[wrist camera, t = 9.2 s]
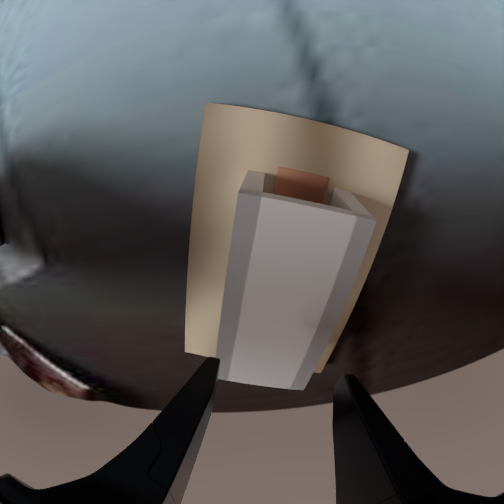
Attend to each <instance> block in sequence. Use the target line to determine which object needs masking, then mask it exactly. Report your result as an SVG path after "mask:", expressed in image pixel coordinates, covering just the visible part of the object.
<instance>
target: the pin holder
mask: <svg viewBox="0 0 504 504" xmlns="http://www.w3.org/2000/svg"><path fill="white" fill-rule="evenodd" d="M408 153H409V150H408V149H405V148H402V147H400V146H397V145H394V144H391V143H388V142H385V141H383V140H380V139H377V138H374V137H370V136H367V135H364V134H361V133H358V132H354V131H351V130H347V129H344V128H340V127H337V126H333V125H329V124H325V123H321V122H317V121H313V120H309V119H305V118H300V117H296V116H291V115H286V114H281V113H276V112H270V111H265V110H259V109H253V108H246V107H239V106H232V105H224V104H215V103H206V105H205V111H204V118H203V124H202V131H201V138H200V146H199V154H198V162H197V170H196V179H195V188H194V197H193V208H192V218H191V230H190V243H189V257H188V274H187V294H186V321H185V352H188V353H193V354H197V355H202V356H207V357H216V348H217V340H218V332H219V324H220V316H221V309H222V301H223V294H224V286H225V279H226V272H227V265H228V258H229V251H230V244H231V237H232V230H233V223H234V217H235V210H236V203H237V197H238V192H239V190H240V187H241V185H242V183H243V181H244V178H245V176H246V174H247V172H248V170H250V171H255V172H261V173H265V177H264V184H263V192H265V193H270V194H275V195H281V196H286V197H291V198H296V199H301V200H306V201H310V202H315V203H320V204H324V205H329V206H330V203H331V199H332V196H333V192H334V188H338V189H342V190H346V191H350V192H351V193H352V194H353V195H354V197H355V198H356V199H357V200H358V201H359V202H360V203H361V204H362V205H363V206H364V208H365V209H366V210H367V211H368V212H369V213H370V214H371V215H372V217H373V218H374V219H375V220H376V221H377V222H376V225H375V228H374V230H373V233H372V236H371V239H370V242H369V245H368V248H367V250H366V253H365V256H364V259H363V261H362V264H361V266H360V269H359V272H358V274H357V277H356V279H355V282H354V284H353V287H352V289H351V292H350V294H349V296H348V299H347V301H346V304H345V306H344V308H343V311H342V313H341V315H340V317H339V320H338V322H337V324H336V326H335V328H334V331H333V333H332V335H331V337H330V339H329V341H328V343H327V345H326V348H325V350H324V352H323V354H322V356H321V358H320V360H319V362H318V364H317V366H316V368H315V370H314V372H316V373H321V371H322V370H323V368H324V366H325V364H326V362H327V360H328V358H329V357H330V355H331V353H332V351H333V349H334V347H335V345H336V343H337V341H338V339H339V337H340V335H341V333H342V331H343V329H344V327H345V325H346V323H347V321H348V318H349V316H350V314H351V312H352V310H353V308H354V305H355V303H356V301H357V299H358V297H359V294H360V292H361V290H362V287H363V285H364V283H365V280H366V278H367V275H368V273H369V271H370V268H371V266H372V263H373V261H374V258H375V255H376V253H377V250H378V248H379V245H380V242H381V240H382V237H383V234H384V231H385V228H386V226H387V223H388V220H389V217H390V214H391V211H392V208H393V205H394V202H395V198H396V195H397V192H398V189H399V185H400V182H401V178H402V175H403V171H404V168H405V164H406V160H407V156H408Z"/></svg>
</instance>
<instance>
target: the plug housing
mask: <svg viewBox="0 0 504 504" xmlns="http://www.w3.org/2000/svg"><path fill="white" fill-rule="evenodd" d="M264 177H265V173H261V172H255V171H250V170H248V172H247V174H246V176H245V178H244V181H243V183H242V185H241V187H240V190H239V192H238V197H237V203H236V210H235V217H234V223H233V230H232V237H231V244H230V251H229V258H228V265H227V272H226V279H225V286H224V294H223V301H222V309H221V316H220V324H219V332H218V340H217V348H216V358H219V359H220V360H221V361H220V368H219V374H218V379H222V380H227V381H233V382H239V383H246V384H252V385H260V386H267V387H275V388H284V389H294V390H304V389H305V387H306V385H307V383H308V381H309V379H310V377H311V375H312V373H313V372H314V370H315V368H316V366H317V364H318V362H319V360H320V358H321V356H322V354H323V352H324V350H325V348H326V345H327V343H328V341H329V339H330V337H331V335H332V333H333V331H334V328H335V326H336V324H337V322H338V320H339V317H340V315H341V313H342V311H343V308H344V306H345V304H346V301H347V299H348V296H349V294H350V292H351V289H352V287H353V284H354V282H355V279H356V277H357V274H358V272H359V269H360V266H361V264H362V261H363V259H364V256H365V253H366V250H367V248H368V245H369V242H370V239H371V236H372V233H373V230H374V228H375V225H376V222H377V221H376V220H375V219H374V218H373V217H372V215H371V214H370V213H369V212H368V211H367V210H366V209H365V208H364V206H363V205H362V204H361V203H360V202H359V201H358V200H357V199H356V198H355V197H354V195H353V194H352V193H351V192H350V191H346V190H342V189H338V188H334V192H333V196H332V199H331V203H330V206H329V205H324V204H320V203H315V202H310V201H306V200H301V199H296V198H291V197H286V196H281V195H275V194H270V193H265V192H263V184H264Z"/></svg>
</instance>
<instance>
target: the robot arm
mask: <svg viewBox="0 0 504 504" xmlns="http://www.w3.org/2000/svg"><path fill="white" fill-rule="evenodd" d="M3 244H4V237H3V232H2V227H1V221H0V246H2V245H3ZM220 361H221V360H220V359H219V358H216V357H208V358H207V359H206V360H205V361H204V363H203V364H202V365H201V366H200V367H199V369H198V370H197V371H196V372H195V373H194V375H193V376H192V377H191V378H190V379H189V380H188V382H187V383H186V384H185V385H184V386H183V387H182V389H181V390H180V391H179V392H178V393H177V394H176V396H175V397H174V398H173V399H172V400H171V401H170V402H169V404H168V405H167V406H166V407H165V408H164V409H163V410H162V412H161V413H160V414H159V415H158V416H157V417H156V418H155V420H154V421H153V423H151V424H150V425H149V426H148V427H147V428H146V430H145V431H144V432H143V433H142V434H141V435H140V436H139V437H138V438H137V439H136V440H135V441H134V442H132V443H131V444H130V445H129V446H128V447H127V448H126V449H124V450H123V451H122V452H121V453H119V454H118V455H117V456H116V457H114V458H113V459H112V460H111V461H109V462H108V463H107V464H106V465H104V466H103V467H101V468H100V469H99V470H97V471H96V472H94V473H92V474H91V475H89V476H86V477H84V478H81V479H78V480H75V481H72V482H68V483H65V484H61V485H57V486H54V487H50V488H46V489H40V490H38V489H34V488H32V487H31V486H29V485H27V484H25V483H24V482H22V481H20V480H19V479H17V478H16V477H14V476H12V475H11V474H8V473H7V474H4V475H2V476H0V504H181V501H182V498H183V495H184V492H185V490H186V487H187V484H188V481H189V478H190V475H191V472H192V469H193V466H194V464H195V461H196V458H197V455H198V452H199V449H200V446H201V443H202V440H203V437H204V434H205V431H206V428H207V425H208V422H209V419H210V416H211V412H212V407H213V401H214V396H215V391H216V385H217V380H218V374H219V368H220ZM333 442H334V456H335V457H334V458H335V477H336V504H504V492H503V493H502V494H499V495H497V496H496V497H485V496H480V495H475V494H471V493H466V492H462V491H458V490H454V489H451V488H449V487H447V486H446V485H444V484H443V483H442V482H441V481H440V480H439V479H438V478H437V477H436V476H435V475H434V474H433V473H432V472H431V471H430V470H429V469H428V468H427V467H426V466H425V465H424V463H423V462H422V461H421V460H420V459H419V458H418V457H417V456H416V455H415V453H414V452H413V451H412V449H411V448H410V447H409V446H408V444H407V443H406V442H404V439H403V438H402V437H401V435H400V434H399V433H398V431H397V430H396V429H395V427H394V426H393V425H392V423H391V422H390V421H389V420H388V418H387V417H386V416H385V414H384V413H383V412H382V410H381V409H380V408H379V406H378V405H377V404H376V403H375V401H374V400H373V399H372V397H371V396H370V395H369V393H368V392H367V391H366V389H365V388H364V387H363V386H362V384H361V383H360V382H359V380H358V379H357V378H356V376H354V375H352V374H344V375H342V376H341V378H340V380H339V381H338V383H337V384H336V386H335V388H334V396H333Z"/></svg>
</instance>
